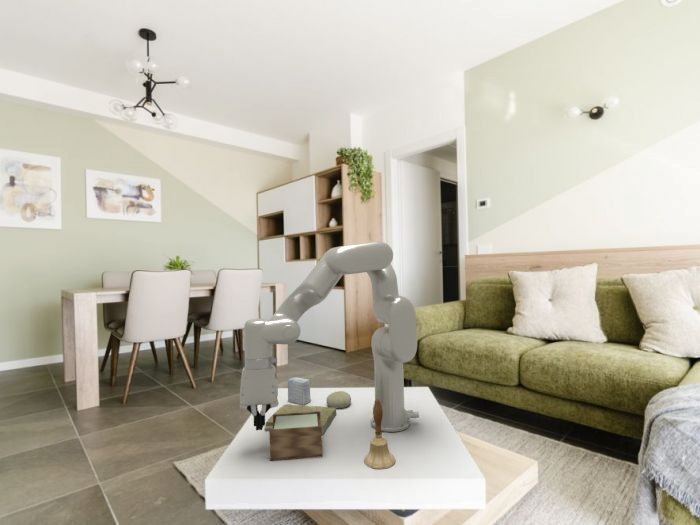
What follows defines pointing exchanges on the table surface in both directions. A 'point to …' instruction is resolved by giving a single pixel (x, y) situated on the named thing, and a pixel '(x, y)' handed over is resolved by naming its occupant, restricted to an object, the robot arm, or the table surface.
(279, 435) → the box
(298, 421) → the cover plate
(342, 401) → the sea urchin shell
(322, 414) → the decorative tile
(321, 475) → the table surface
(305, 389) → the medicine box
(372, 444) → the hand bell
